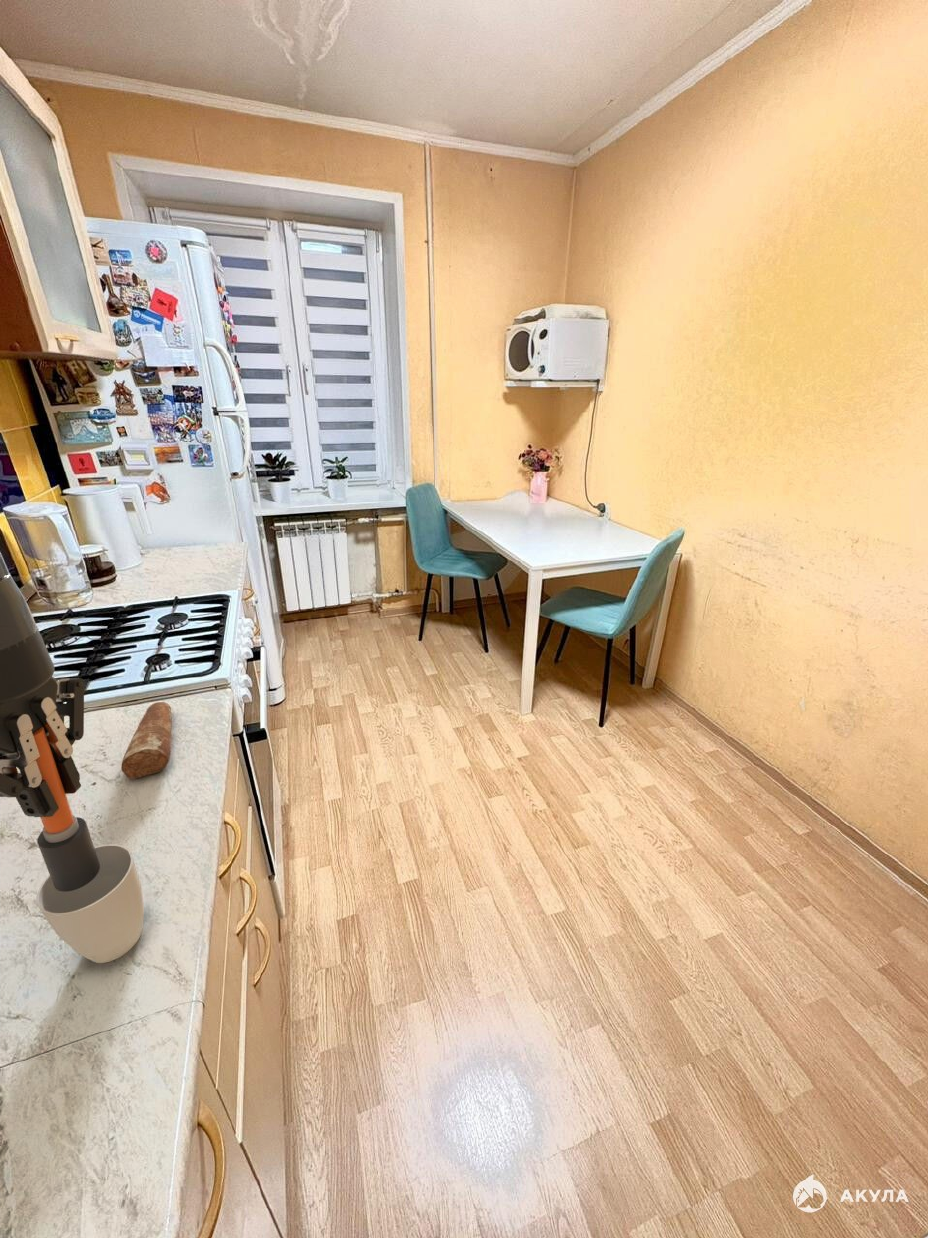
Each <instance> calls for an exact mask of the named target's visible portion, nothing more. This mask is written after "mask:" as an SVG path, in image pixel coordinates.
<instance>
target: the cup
mask: <svg viewBox="0 0 928 1238" xmlns="http://www.w3.org/2000/svg"><path fill="white" fill-rule="evenodd" d="M94 848H95V851H96V855H97V858H98V861H99V864H100V869H99V872H98V874H97V875H96V877H95V878H94V879H93V880H92V881H91V882H89V883H88V884H86V885H85V886H83V887H81V888H79V889H76V890H73V891H67V892H63V891H59V890H57V889H56V888H55V887H54V885H53V882H52V879H51V877H50V874H49V875H48V876H46V878H45V879H44V881H43V882H42V883H41V885H40V887H39V889H38V891H37V894H36V898H35V899H36V906H37V908H38V909H39V911H40V913H41V914H42V915H43V917H44V918H45V919H46V921H47V922H48V924H49V925H50V927H51V928H52V929H53V931H54V932H55V934H56V935H57V936H58V937H59V938H60V939H61V940H62V941H64V942H65V943H66V945H68V946H69V947H70V948H71V949H72V950H73V951H74V952H75V953H76V954H78V955H80V956H82V957H84V958H86V959H87V960H89V961H91V962H93V963H96V964H104V963H106V964H107V963H109V962H113V961H115V960H116V959H119V958H121V957H122V956H124V955H125V954H126V953H128V952H129V951H130V950H131V949H132V948H133V947H134V946H135V945H136V944H137V942H138V941H139V939H140V938H141V935H142V933H143V927H144V916H145V915H144V914H145V906H144V897H143V890H142V882H141V879H140V876H139V873H138V869H137V865H136V862H135V859H134V856H133V853H132V851H131V850H130V849H129V848H128V847H126V846H124V845H122V844H116V843H109V844H102V845H97V846H94Z"/></svg>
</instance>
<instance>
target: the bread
mask: <svg viewBox="0 0 928 1238" xmlns="http://www.w3.org/2000/svg"><path fill="white" fill-rule="evenodd" d="M171 749H172V707H171V705H170V704H169V703H168V702H164V701H157V702H154V703H152V704H151V705H150V706H148V707H147V709H146V711H145V713H144V715H143V716H142V718H141V720H140V722H139V723H138V726H137V728H136V730H135V732H134V734H133V736H132V738H131V740H130V742H129V744H128V746H127V749H126V750H125V752H124V756H123V759H122V761H121V768H120V769H121V771H122V773H123V774H124V775H125V777H126V778H128V779H133V780H134V779H135V780H136V779H139V778H143V777H147V776H150V775H154V774H157V773H159V772H161V771H162V770H164V769H165V768H166V767H167V766H168V764H169V762H170V758H171V751H172V750H171Z"/></svg>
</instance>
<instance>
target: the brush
mask: <svg viewBox="0 0 928 1238" xmlns="http://www.w3.org/2000/svg"><path fill="white" fill-rule="evenodd" d="M33 736H34V739H35V742H36V745H37V748H38V751H39V754H40V757H39V758H38V759H37V760H36V762H37V765H38V767H39V770H40V773H41V776H42V780H46V782H47V784H48V786H49V788H50V790H51V792H52V794H53V796H54V798H55V800H56V802H57V804H58V806H59V810H58V811H57V812H56V813H55V814H54V815H53V816H52V817H39V818H40V820H41V823H42V826H43V827H42V831H41V832H40V834H39V835H38V837H37V839H36V841H37V846H38V848H39V851H40V853H41V856H42V858H43V859H42V860H43V861H44V864H45V866H46V869H47V872H48V874H49V875H50V877H51V879H52V882H53V885H54V887H55V888H56V889H57V890H59V891H63V892H67V891H73V890H76V889H79V888H81V887H83V886H85V885H86V884H88V883H89V882H91V881H92V880H93V879H94V878H95V877H96V875H97V874H98V872H99V869H100V864H99V861H98V858H97V855H96V851H95V848H94V847H95V845H94V841H93V838H92V835H91V833H90V830H89V826H88V823H87V821H86V820H85V818H83V817H78V816H75V815H73V812H72V809H71V806H70V803H69V800H68V797H67V794H65V791H64V788H63V785H62V782H61V779H60V776H59V773H58V770H57V767H56V764H55V761H54V758H53V755H52V752H51V749H50V746H49V743H48V740H47V737H46V734H45V731H44V728H43V727H42V728H40V729H39V730H38V731H37V732H35V733H34V734H33Z"/></svg>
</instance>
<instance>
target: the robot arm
mask: <svg viewBox="0 0 928 1238" xmlns="http://www.w3.org/2000/svg"><path fill="white" fill-rule="evenodd" d="M40 632H41V631H40V630H39V627H38V626H37V623H36V621H35V618H34V616H33V613H32V611H31V609H30V606H29V605H28V602H27V600H26V598H25V596H24V595H23V592H22V591H21V590H20V587H18V585H17V583H16V582H15V580H14V578H13V577H12V575H11V573H10V571H9V569H8V566H7V564H6V562H5V560H4V557H3V554H2V553H1V551H0V798H15V799H16V801H17V803H18V805H19V806H20V809H21V810H22V812H23V814H24V815H25V816H27V817H30V818H31V817H33V818H40V817H52V816H53V815H54V814H55V813H56V812H57V811H58V810H59V806H58V804H57V802H56V800H55V798H54V796H53V794H52V792H51V790H50V788H49V786H48V784H47V782H46V780H42V776H41V773H40V770H39V767H38V765H37V762H36V760H37V759H38V758H39V757H40V754H39V751H38V748H37V745H36V742H35V739H34V736H33V734H34V733H35V732H37V731H38V730H39V729H40V728H42V727H43V728H44V731H45V734H46V737H47V740H48V743H49V746H50V749H51V752H52V755H53V758H54V761H55V764H56V767H57V770H58V773H59V776H60V779H61V782H62V785H63V788H64V791H65V794H66V795H69V794H71V795H72V794H76V793H77V792H78V790H80V789H81V787H82V784H81V782H80V781H81V774H80V772H79V770H78V768H77V766H76V764H75V761H74V759H73V757H72V755H73V753H74V747H73V745H74V744H75V742H76V741H80V740H82V739H83V737H84V734H85V730H84V729H85V681H84V679H83V678H82V677H72V678H69V677H67V678H55V677H54V673H55V665H54V663H53V660H52V658H51V655H50V653H49V651H48V648H47V646H46V644H45V641H44V639H43V637H42V634H41V633H40ZM65 716H68V719H69V720H68V721H69V724H68V727H67V726H66V725H65ZM18 770H19V771H18Z"/></svg>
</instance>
